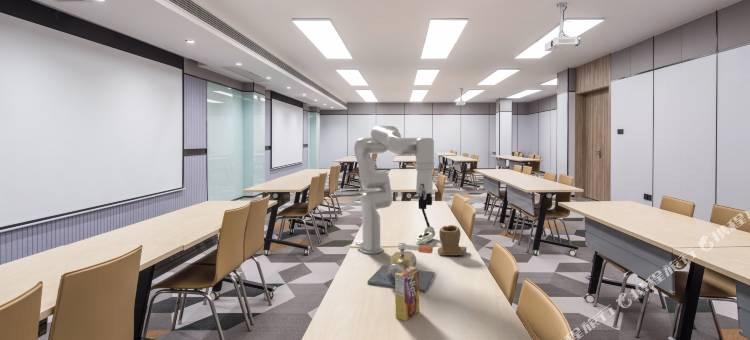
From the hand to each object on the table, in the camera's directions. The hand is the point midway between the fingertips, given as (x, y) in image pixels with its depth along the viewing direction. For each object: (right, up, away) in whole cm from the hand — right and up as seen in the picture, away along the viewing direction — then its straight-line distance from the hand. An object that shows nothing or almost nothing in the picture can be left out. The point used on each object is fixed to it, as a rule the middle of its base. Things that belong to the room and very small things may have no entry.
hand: (425, 206), depth 150 cm
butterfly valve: (+8, -26, +53) cm, 59 cm away
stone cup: (+18, -28, +30) cm, 45 cm away
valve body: (-10, -31, -1) cm, 32 cm away
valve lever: (-5, -18, -4) cm, 19 cm away
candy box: (-11, -34, -31) cm, 47 cm away
